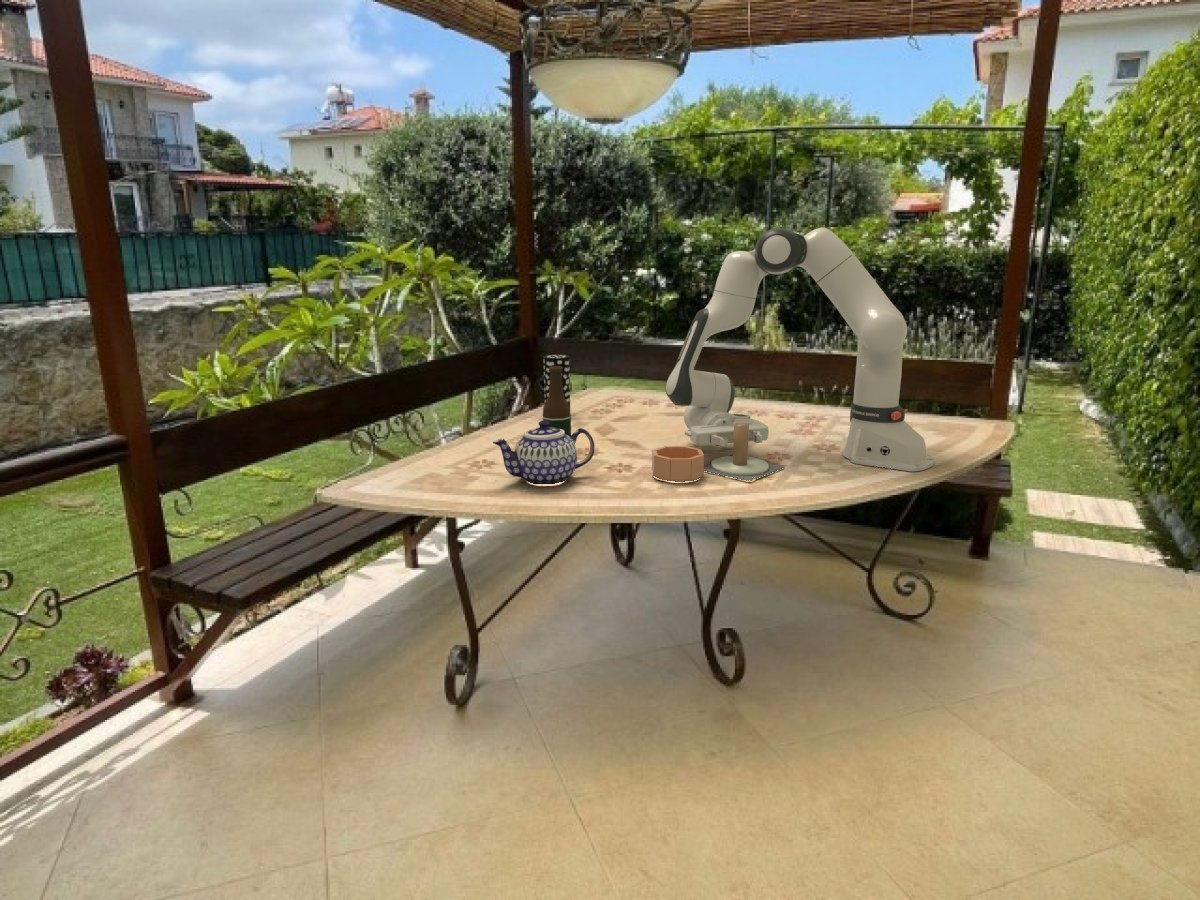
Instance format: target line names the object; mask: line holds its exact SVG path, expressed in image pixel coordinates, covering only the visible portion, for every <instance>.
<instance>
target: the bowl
mask: <svg viewBox="0 0 1200 900" xmlns="http://www.w3.org/2000/svg"><path fill="white" fill-rule="evenodd" d="M704 465H705V454H704V452H703V450H702V449H700V448H696V447H691V446H688V445H664V446H661V447H658V448H653V449H652V450H651V472H652V477H653V476H655V477H657V478H659V479H662V480H667V481H675V482H685V481H694V480H697V479H699V478H701V477H702V478H703V476H704V473H705V472H704Z"/></svg>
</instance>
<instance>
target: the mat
mask: <svg viewBox="0 0 1200 900" xmlns="http://www.w3.org/2000/svg"><path fill="white" fill-rule="evenodd" d="M729 456H733V454H732V455H729ZM767 463H768V465H769V468H768V471H767V472H765V473H763V474H759V475H752V476H736V475H728V474H723V473H720V472H717V471H715V470H713V469H712V467H711V466H712V461H711V462H708V463H704V471H707V472H711V473H715V474H719V475H724V476H728V477H733V478H737V479H741V480H746V481H747V480H748V481H749V480H750V481H752V480H753V479H757V478H759V477H762V476H764V475H767V474H770V473H772V472H775V471H777V470H780V469H782V468H786V467H785V466H783V465H778V464H773V463H769V462H767ZM752 477H753V478H752ZM754 477H755V478H754Z"/></svg>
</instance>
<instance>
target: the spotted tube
mask: <svg viewBox="0 0 1200 900" xmlns="http://www.w3.org/2000/svg"><path fill="white" fill-rule="evenodd" d="M542 359H543V384H544V385H543V390H544V392H543V393H544V403H545V402H546V400H547V399H548V397H549V385H550V372H549V367H552V366H560V367H562V370H563V371H562V372H561V373H562V385H563V394H564V398H565V399H566V401H567V403H568V405H569V408H570V409H571V381H570V380H571V378H570V377H571V376H570V373H571V372H570V366H571V365H570V355H566V354H547V355H543V358H542Z"/></svg>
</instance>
